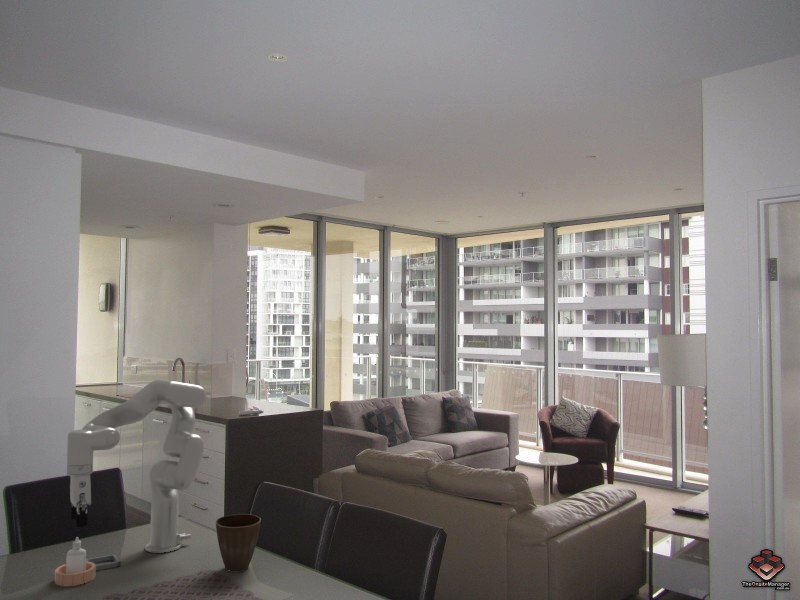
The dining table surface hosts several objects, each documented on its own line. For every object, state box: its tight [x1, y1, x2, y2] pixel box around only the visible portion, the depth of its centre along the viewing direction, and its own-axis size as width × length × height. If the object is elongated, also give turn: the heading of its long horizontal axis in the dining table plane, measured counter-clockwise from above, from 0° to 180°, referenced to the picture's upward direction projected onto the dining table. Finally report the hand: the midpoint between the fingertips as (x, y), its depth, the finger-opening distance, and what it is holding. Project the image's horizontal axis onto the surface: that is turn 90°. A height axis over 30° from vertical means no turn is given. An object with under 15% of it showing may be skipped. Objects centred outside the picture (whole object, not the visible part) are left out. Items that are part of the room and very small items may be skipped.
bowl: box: [54, 561, 97, 587], centre depth 203 cm, size 11×11×4 cm
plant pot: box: [215, 513, 262, 572], centre depth 215 cm, size 15×15×16 cm
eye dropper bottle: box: [65, 536, 87, 574], centre depth 203 cm, size 4×6×12 cm
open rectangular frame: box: [86, 553, 121, 572], centre depth 215 cm, size 10×9×2 cm
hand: (78, 522), depth 204 cm, fingers open, 9 cm apart
